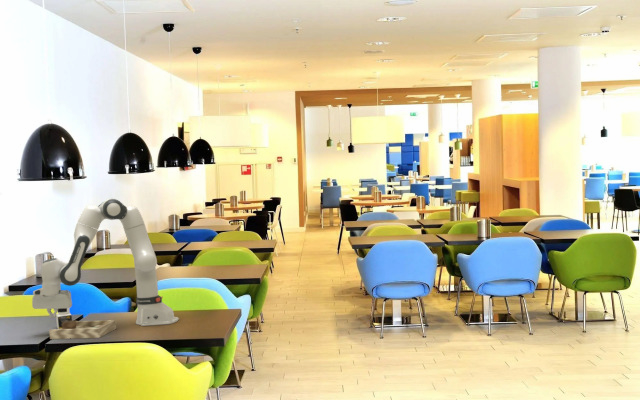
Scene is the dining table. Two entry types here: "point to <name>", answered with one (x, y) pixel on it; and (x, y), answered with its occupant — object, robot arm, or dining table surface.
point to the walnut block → (69, 324)
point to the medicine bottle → (63, 316)
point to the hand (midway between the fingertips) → (52, 317)
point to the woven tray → (84, 330)
